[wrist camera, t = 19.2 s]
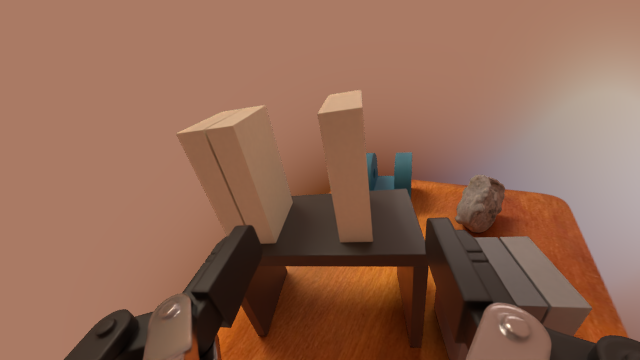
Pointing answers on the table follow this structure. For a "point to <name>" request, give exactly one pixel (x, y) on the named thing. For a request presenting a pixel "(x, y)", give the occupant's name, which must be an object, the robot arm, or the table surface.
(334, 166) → the beige rectangular block
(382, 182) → the bracket
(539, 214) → the table surface
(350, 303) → the table surface
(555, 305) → the grey books
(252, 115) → the white books
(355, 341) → the table surface
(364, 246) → the shelf
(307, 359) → the table surface
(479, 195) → the stone
